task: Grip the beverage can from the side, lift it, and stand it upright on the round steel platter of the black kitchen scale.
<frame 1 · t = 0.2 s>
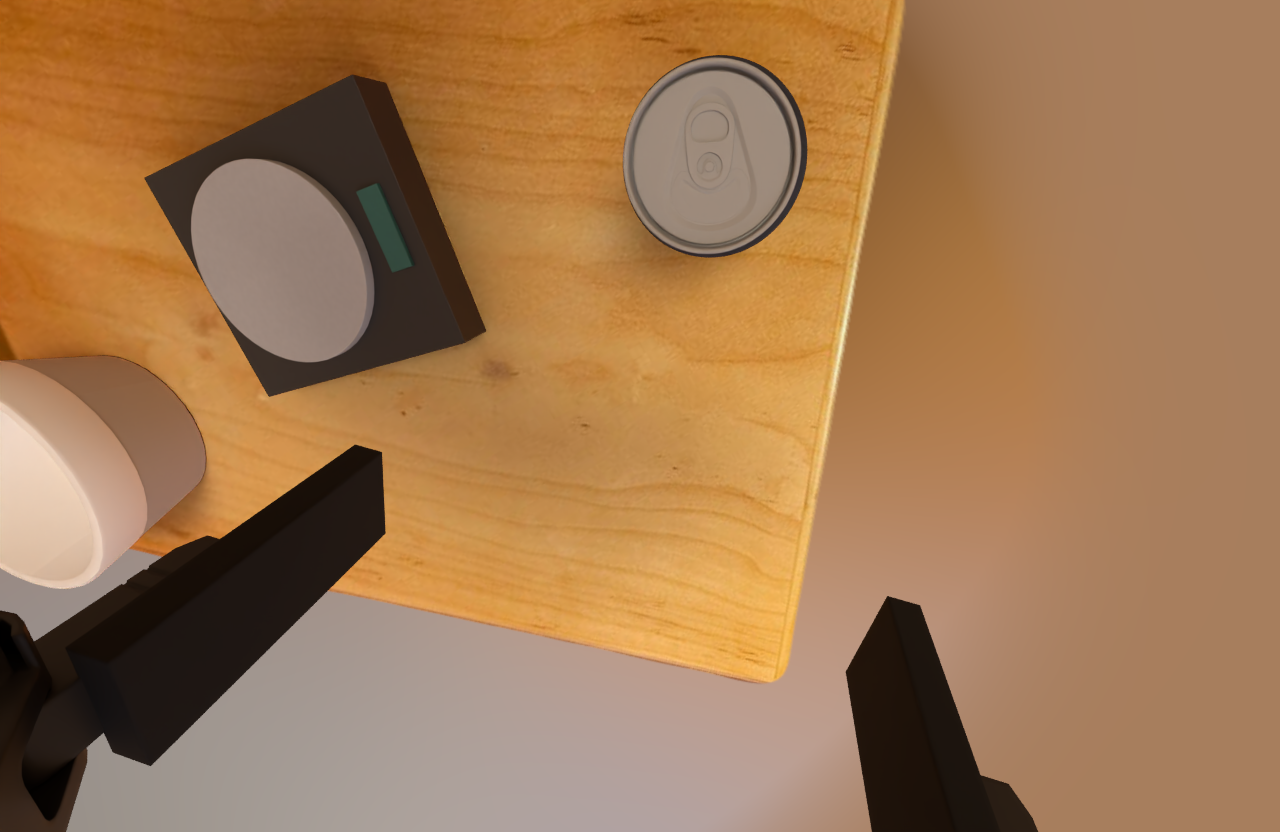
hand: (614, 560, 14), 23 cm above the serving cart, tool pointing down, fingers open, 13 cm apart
beverage can: (734, 169, 31), on the serving cart
scale: (336, 254, 38), on the serving cart
bowl: (141, 427, 50), on the serving cart
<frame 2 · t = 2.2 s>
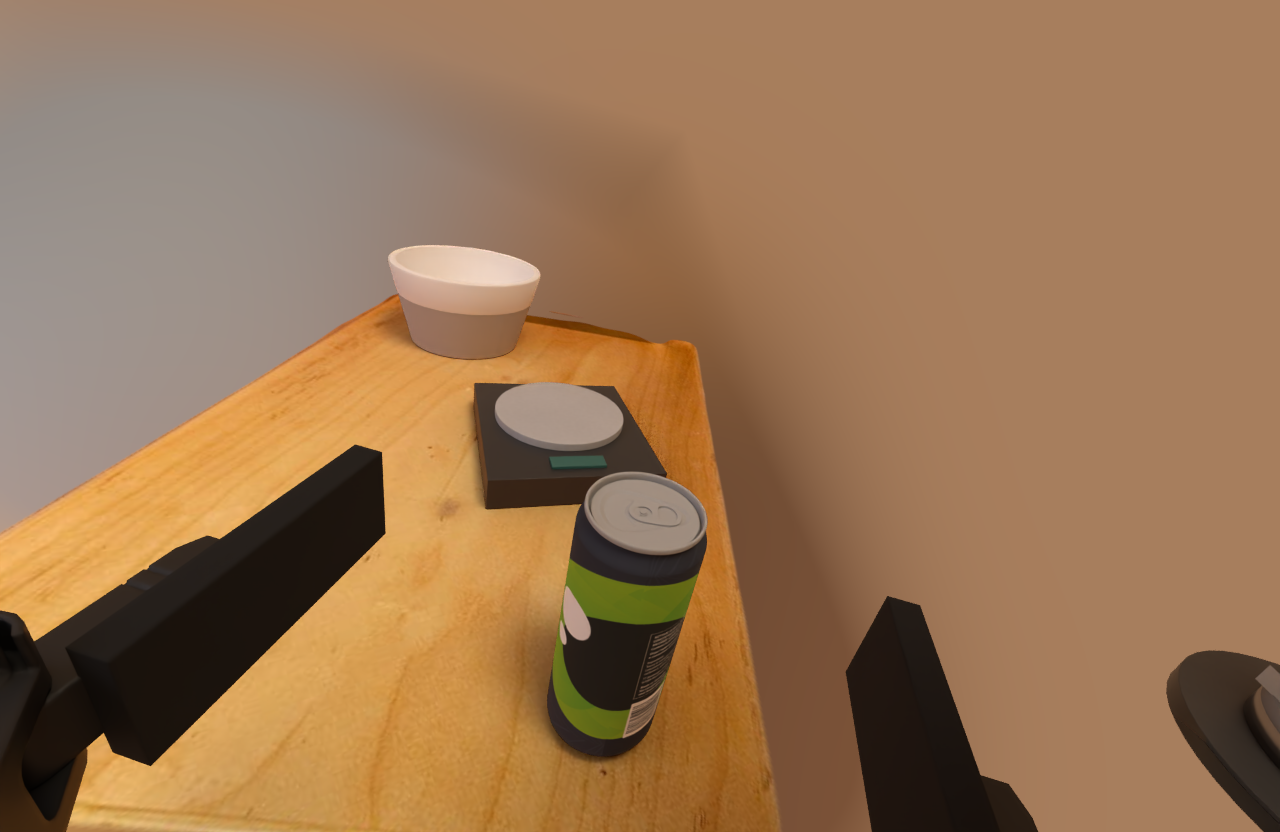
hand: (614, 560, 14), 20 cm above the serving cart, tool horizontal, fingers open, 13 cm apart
beverage can: (598, 711, 32), on the serving cart
scale: (559, 449, 55), on the serving cart
bowl: (465, 340, 76), on the serving cart
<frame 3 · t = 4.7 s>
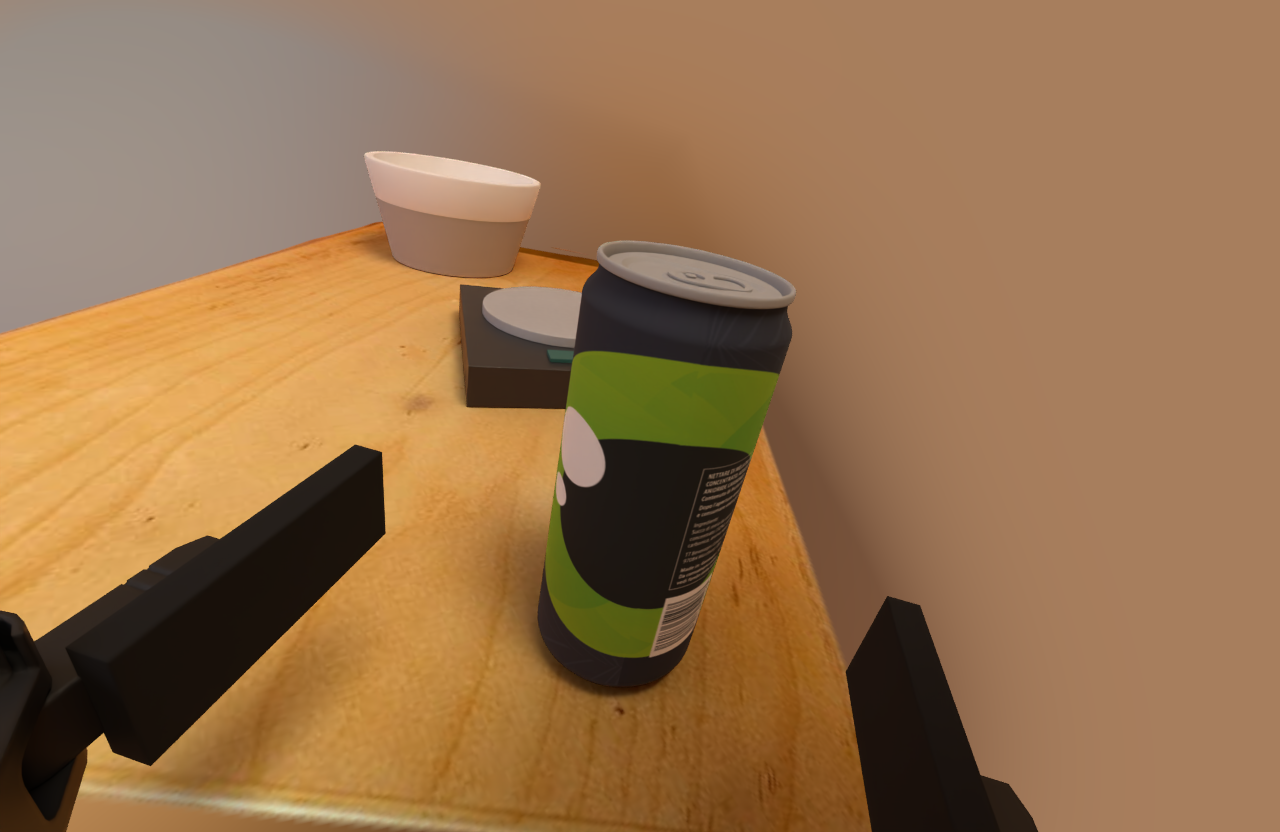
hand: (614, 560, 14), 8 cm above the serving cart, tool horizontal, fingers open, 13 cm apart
beverage can: (611, 633, 22), on the serving cart
scale: (560, 358, 46), on the serving cart
bowl: (454, 262, 67), on the serving cart
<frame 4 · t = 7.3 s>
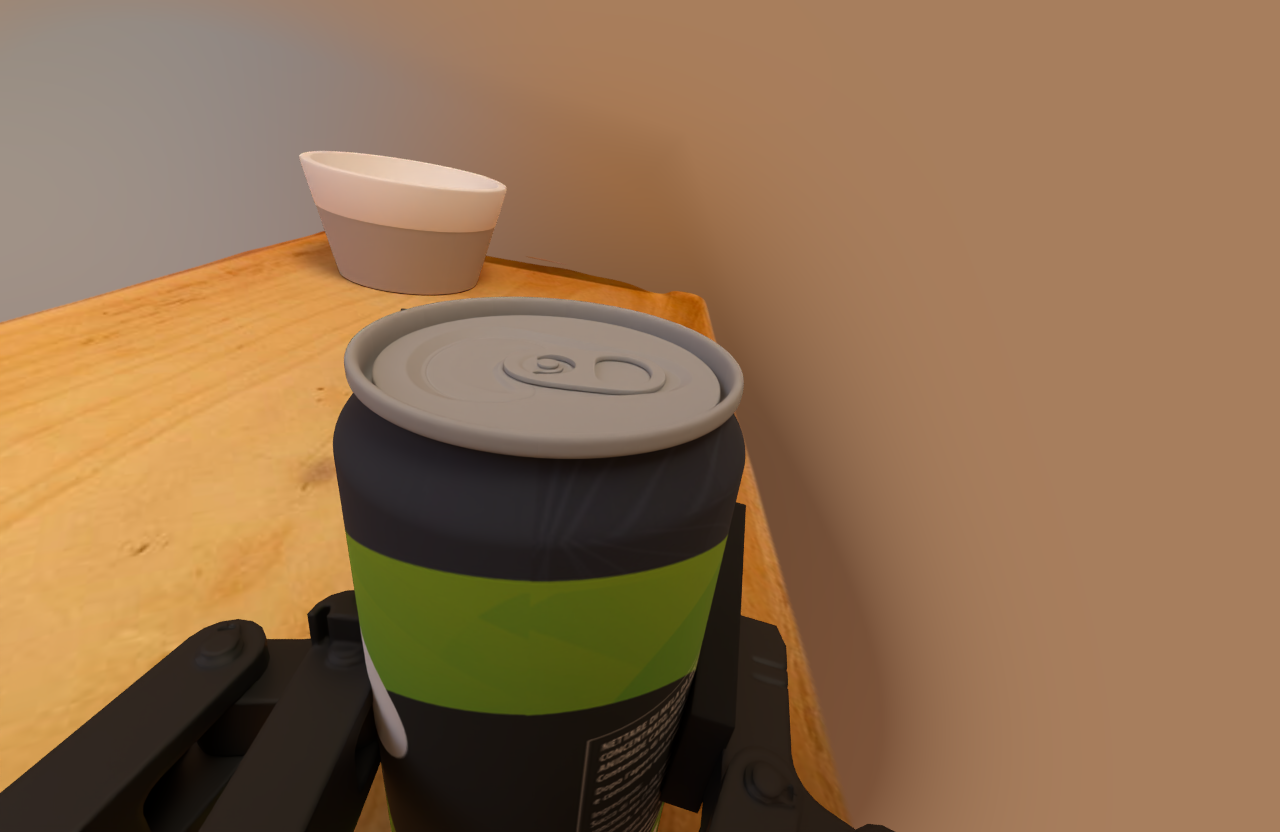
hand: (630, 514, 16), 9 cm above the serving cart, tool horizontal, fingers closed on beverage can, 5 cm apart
bowl: (411, 276, 59), on the serving cart
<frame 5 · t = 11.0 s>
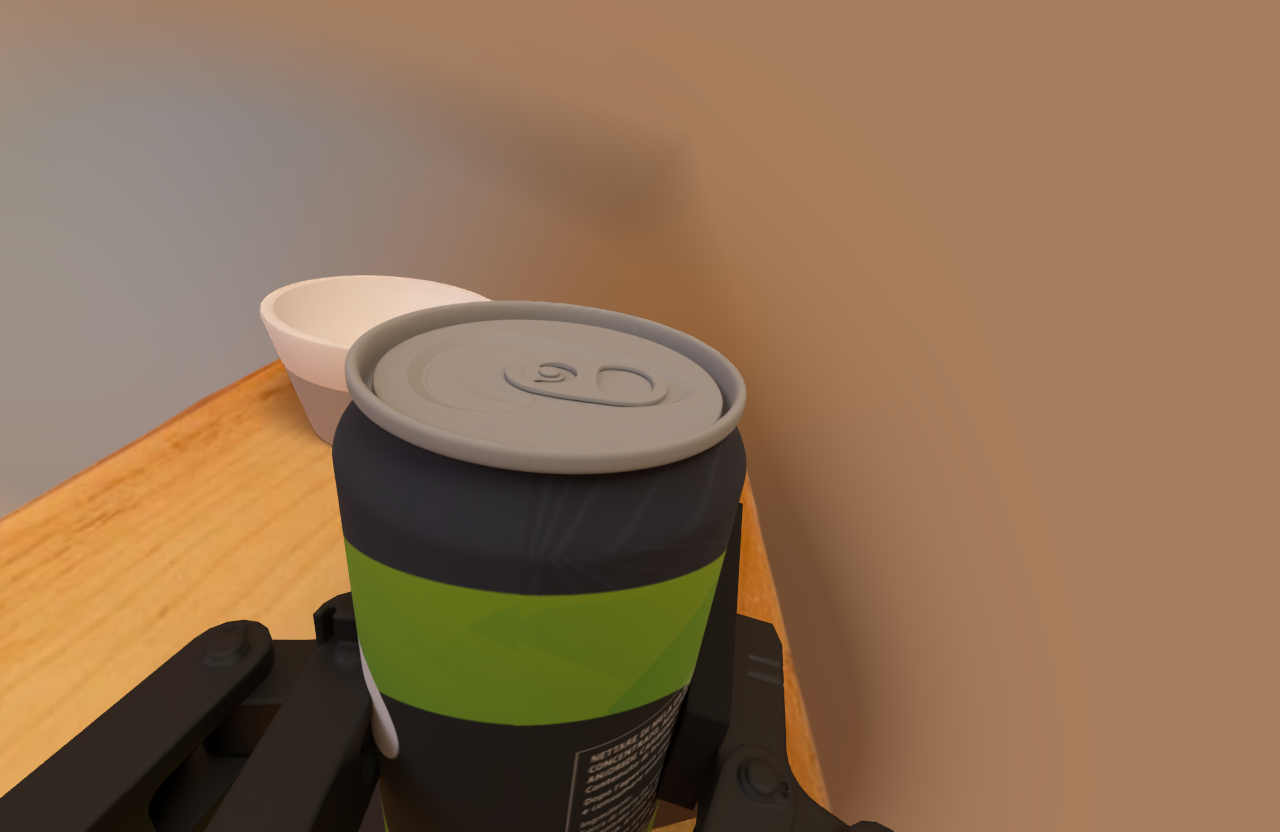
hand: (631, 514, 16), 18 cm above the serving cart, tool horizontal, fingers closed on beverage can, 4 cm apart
scale: (517, 672, 30), on the serving cart
bowl: (397, 418, 51), on the serving cart
when the fingers open (12 cm above the serving cart, at t = 14.7 s): beverage can stays where it is, resting on scale.
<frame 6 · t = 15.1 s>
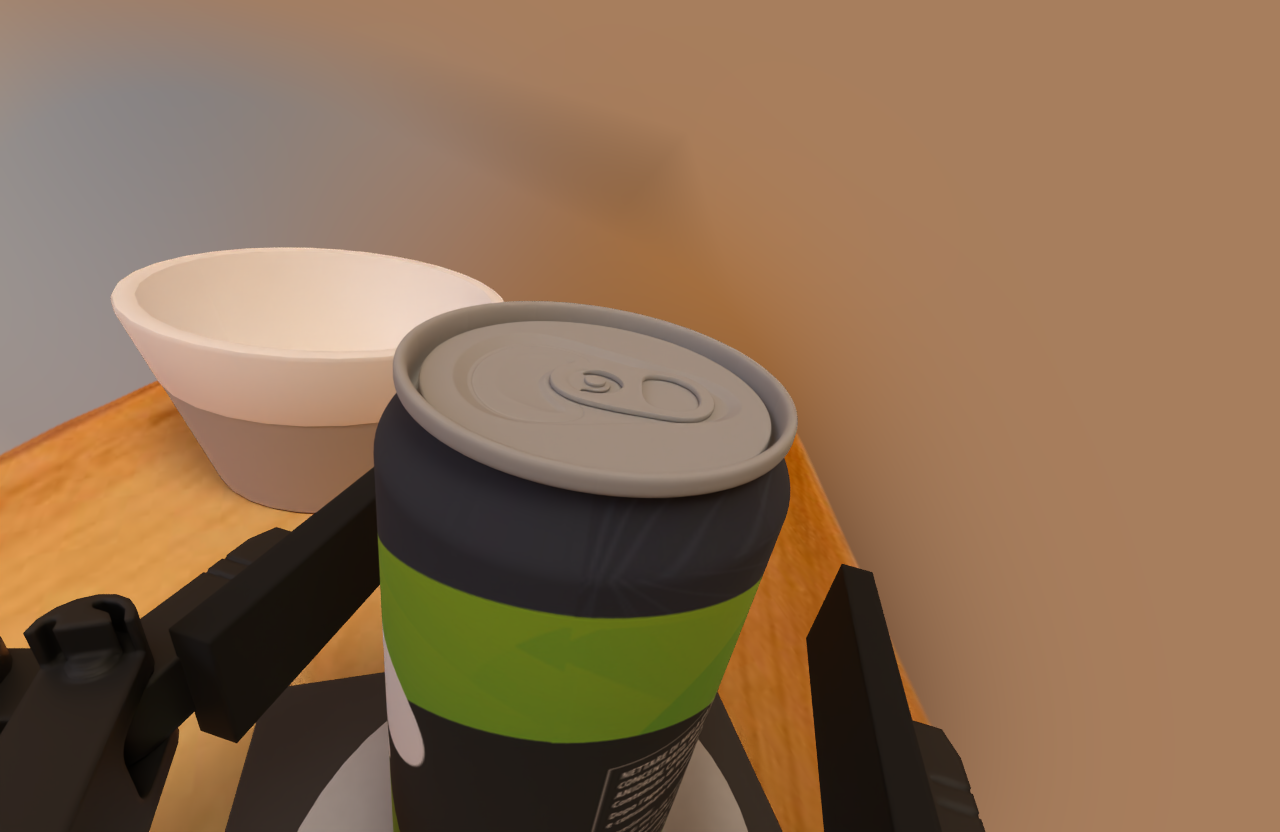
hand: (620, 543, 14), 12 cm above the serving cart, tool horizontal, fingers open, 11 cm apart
bowl: (349, 449, 36), on the serving cart
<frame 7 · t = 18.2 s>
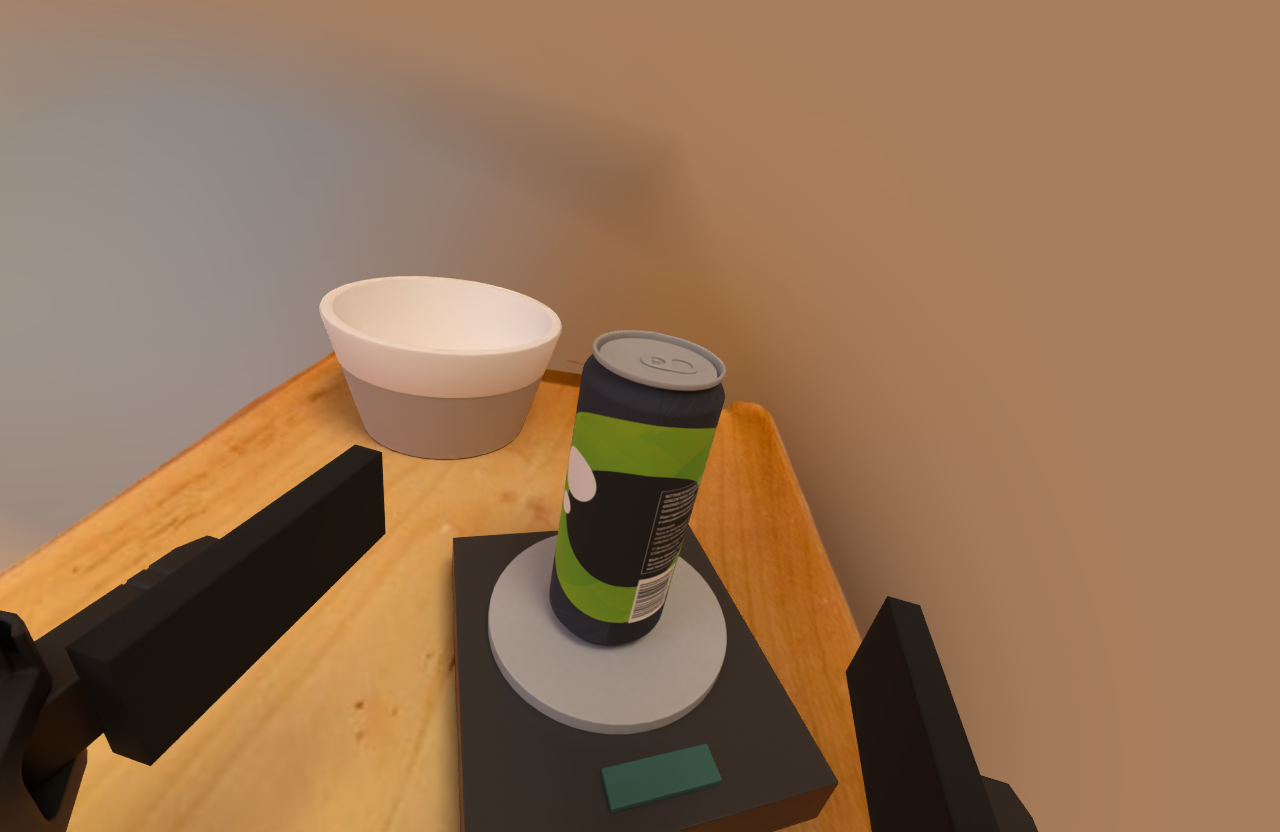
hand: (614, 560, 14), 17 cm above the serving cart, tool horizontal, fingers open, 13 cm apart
beverage can: (603, 608, 30), point 4 cm above the serving cart, touching scale
scale: (607, 677, 30), on the serving cart
bowl: (446, 420, 51), on the serving cart
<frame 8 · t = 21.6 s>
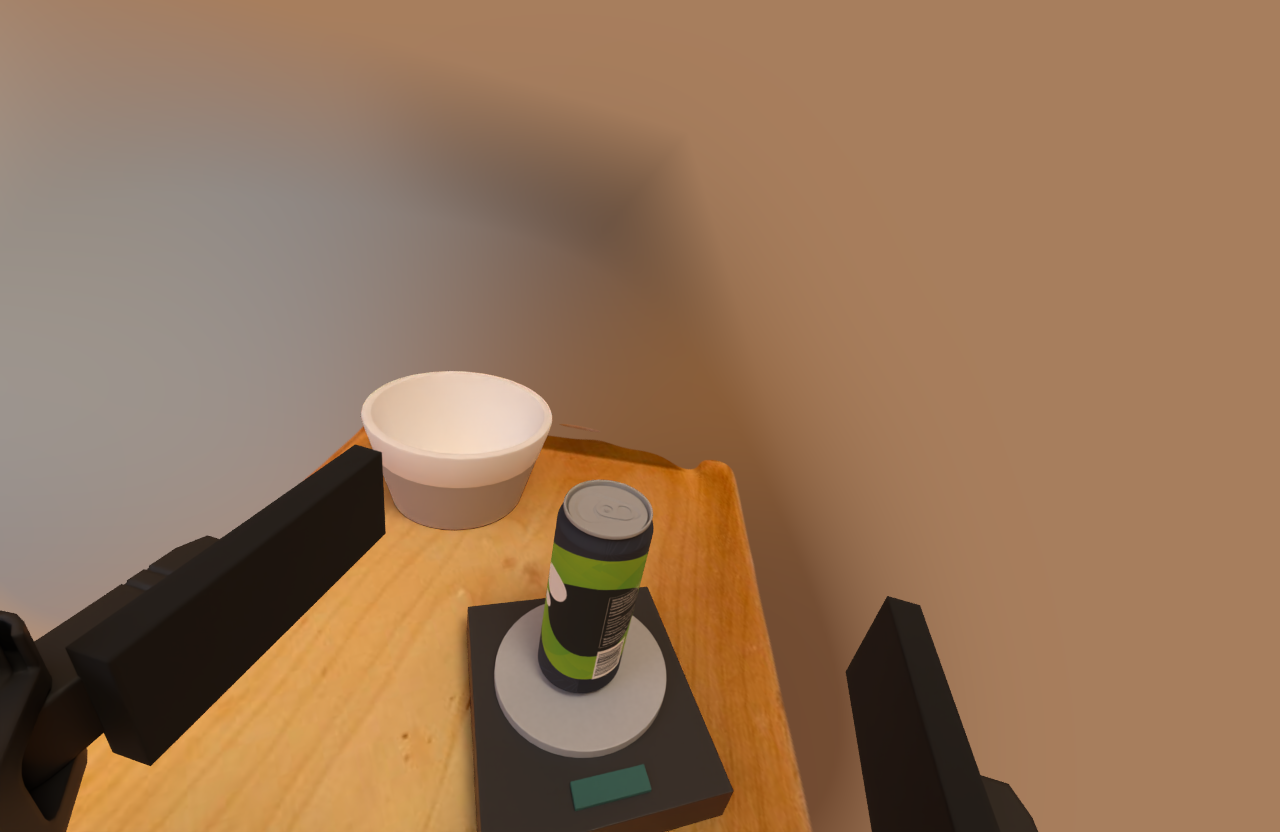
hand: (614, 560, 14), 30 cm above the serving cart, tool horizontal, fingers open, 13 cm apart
beverage can: (577, 663, 41), point 4 cm above the serving cart, touching scale
scale: (580, 713, 41), on the serving cart
bowl: (459, 491, 62), on the serving cart
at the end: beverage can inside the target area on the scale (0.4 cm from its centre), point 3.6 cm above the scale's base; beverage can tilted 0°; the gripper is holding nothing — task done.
